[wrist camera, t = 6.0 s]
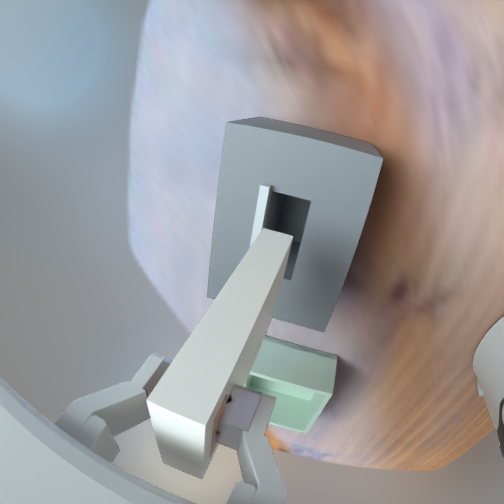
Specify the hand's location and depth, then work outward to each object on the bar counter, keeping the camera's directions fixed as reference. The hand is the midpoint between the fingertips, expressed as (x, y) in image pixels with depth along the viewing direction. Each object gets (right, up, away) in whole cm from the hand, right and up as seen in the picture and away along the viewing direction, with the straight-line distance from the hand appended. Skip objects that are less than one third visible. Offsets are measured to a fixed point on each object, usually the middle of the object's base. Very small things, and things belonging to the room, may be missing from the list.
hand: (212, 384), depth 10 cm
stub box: (+6, -11, +28) cm, 30 cm away
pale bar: (+2, +4, +7) cm, 8 cm away
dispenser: (+6, +9, +18) cm, 21 cm away
